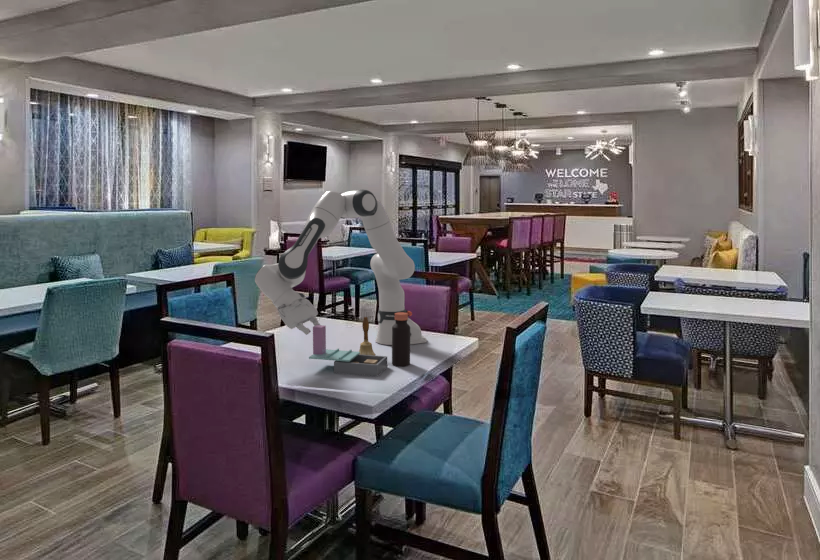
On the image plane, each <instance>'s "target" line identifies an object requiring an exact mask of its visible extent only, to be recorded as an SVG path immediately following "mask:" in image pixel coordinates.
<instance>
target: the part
mask: <svg viewBox="0 0 820 560" xmlns="http://www.w3.org/2000/svg"><path fill="white" fill-rule="evenodd" d="M377 363H378V360H371V359H367V360H366V361H364V364H377Z"/></svg>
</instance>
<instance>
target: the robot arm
mask: <svg viewBox="0 0 820 560" xmlns="http://www.w3.org/2000/svg"><path fill="white" fill-rule="evenodd" d="M356 218H360V219H361V222H362V224H363V228H364V230H365V233H366V236H367V238H368V239H367V240H368V241H369V243H370V247H371V248H372V249H374V250H375V252H376V253H375V254H374V255H373V256H371V259H370V264H369V265H370V268H371V271H372V272H373V274H374V276H375V280H376V284H377V288H378V289H377V290H378V306H379V307H378V311H377V322H378V326H377V333H376V337H375V340H374V341H375V342H376V343H377V344H381V345H387V346H392V326H393V325H394V324H395V323H396V321H395V313H398V312H404V313H408V321H407V324H408V325H409V326H410V346H411V345H417V344H424V343H425V344H426V343H427V341H428V340H427V338H426V336H424V335H422V330H421V327H420V326H419V324H417V323H416V322H414V321H413V320H412V319H411V318H409V317H411V316H412V315H413V312H412V311H410V310H407V309H406V308H405V299H406V298H405V293H406V292H405V291H404V288H403V287H402V285H401V280H406V279H407V280H408V279H409V278H411V277H412V276H413V274H414V272H415V269H416V265H415V262H414V260H413V259H412V258H411V257H410V256H409V255H408V254H407V253H406V251H405V250H404V248H403V246H402V245H401V243H400V242H399V241H398V238H397V237H396V236H397V235H396V234H395V231H394V229H393V226H392V223H391V221H390V218H389V215H388V213H387V211H386V209H385V207H384V204H383V203H382V202H381V200H379V199H377V198H376V196H375V194H374V193H373V192H372V191H370V190H367V189H354V190H353V189H352V190H348V191H344V192H339V191H336V190H328V191H326V192H325V193H323V194H322V196H321V197H320V198H319V199H318V200H317V202H316V203H315V204H314V206H313V208H312V209H311V211H310V213H309V215H308V216H307V220H306V222H305V225H304V228H303V230H302V232H301V233H300V235H299V236H298V238H297V240H296V241H295V243H294V244H293V245H292V246H291V247H290V248H288V249H286V250H285V251H284V252H283V253H282V254H281V255H280V256H279V259H278V260H277V261H278V262H277V263H274V264H266V263H265V264H264V265H262V266H261V267H260V268H259V269H258V270H257V271H256V273H255V277H254V282H255V284H256V286H257V288H258V289H259V290H260V291H261V293H262V294H263V295H265V297H267V298H268V299H269V300H271V302H272V304H273V306H274V307H275V308H276V309H277V312H278V315H279V317H280V319H281V320H282V321H283V323H284V324H285V325H286V327H287V328H288V329H290V330H293V329H295V328H297V330H299V331H301V332H302V333H304V334H305V335H306V336H307V335H309V334H310V333H311V329H310V328H309V327H306V326H305V323H307V322H309V321H310V323H312V324H313V327H314V326H316V325H321V324H320V323H319V320H318V318H317V317H316V316H318V314H319V312H318V310H317V308H316V307H315V306H314V305H313V304H312V302H311V301H310V300H309V299H307V295H306V294H304V293H303V292H299V291H295V290H294V288H295V287H297V286H298V285H300V284H301V283H302V282H303V281H304V279H305V277H306V273H307V272H306V270H307V268H308V260H309V259H308V258H309V255H310V254H311V252H312V250H313V248H314V247H315V245H316V244H317V242H318V241H319V239H321V238H322V239H323V238H324V239H325V238H327V237H329V235H330V234H332V232H333V231H334V230H335V228H336V226H337V225H338V224H339V221H340V220H341V219H356Z"/></svg>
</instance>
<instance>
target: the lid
mask: <svg viewBox="0 0 820 560" xmlns="http://www.w3.org/2000/svg"><path fill="white" fill-rule="evenodd" d="M326 328H327V326H326V325H321V324H320V325H316V326H314V325H313V326H312V353H313V354H311V355H310V356H308V359H309V360H322V361H332V362H334V361H346V362H350V361H351V360H352V359H354V358H355V357H356V356H358V355H359V354H360V352H359V351H354V350H353V351H352V349H349V350H341V349H340V348H336V349H327V339H326V338H327V335H326V334H327V333H326Z"/></svg>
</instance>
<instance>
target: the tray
mask: <svg viewBox="0 0 820 560" xmlns="http://www.w3.org/2000/svg"><path fill="white" fill-rule="evenodd" d="M367 359H371V360H378V363H377V364H364V361H366V360H367ZM351 362H359V363H351ZM387 368H388V356H384V355H375V356H374V355H361V354H359V355H358V356H356V357H355V358H354V359H352V360H351V361H350V362H346V361H333V374H340V375H341V374H342V375H352V376H353V375H354V376H365V377H375V378H376V377H377V378H378V377H379V376H380V375H381V374H382V373H383V372H385V370H386V369H387Z"/></svg>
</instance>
